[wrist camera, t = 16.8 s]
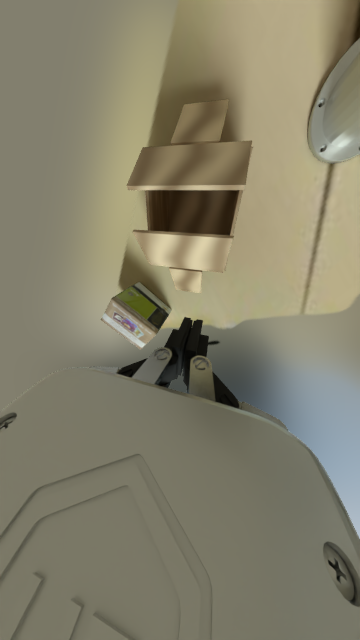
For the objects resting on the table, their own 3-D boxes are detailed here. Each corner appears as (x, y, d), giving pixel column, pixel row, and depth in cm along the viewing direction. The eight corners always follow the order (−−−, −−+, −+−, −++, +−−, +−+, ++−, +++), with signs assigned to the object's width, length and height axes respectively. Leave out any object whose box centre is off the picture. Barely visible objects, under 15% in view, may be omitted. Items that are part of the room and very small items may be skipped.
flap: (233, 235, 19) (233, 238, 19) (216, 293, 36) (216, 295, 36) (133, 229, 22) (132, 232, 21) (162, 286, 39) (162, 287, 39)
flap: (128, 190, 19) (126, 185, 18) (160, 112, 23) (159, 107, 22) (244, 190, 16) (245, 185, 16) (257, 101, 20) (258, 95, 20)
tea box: (127, 300, 51) (98, 319, 39) (139, 280, 46) (110, 296, 34) (158, 325, 54) (139, 351, 42) (173, 309, 48) (156, 334, 36)
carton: (241, 178, 28) (252, 146, 18) (223, 261, 36) (225, 270, 27) (168, 179, 31) (143, 152, 21) (167, 256, 39) (149, 262, 30)
